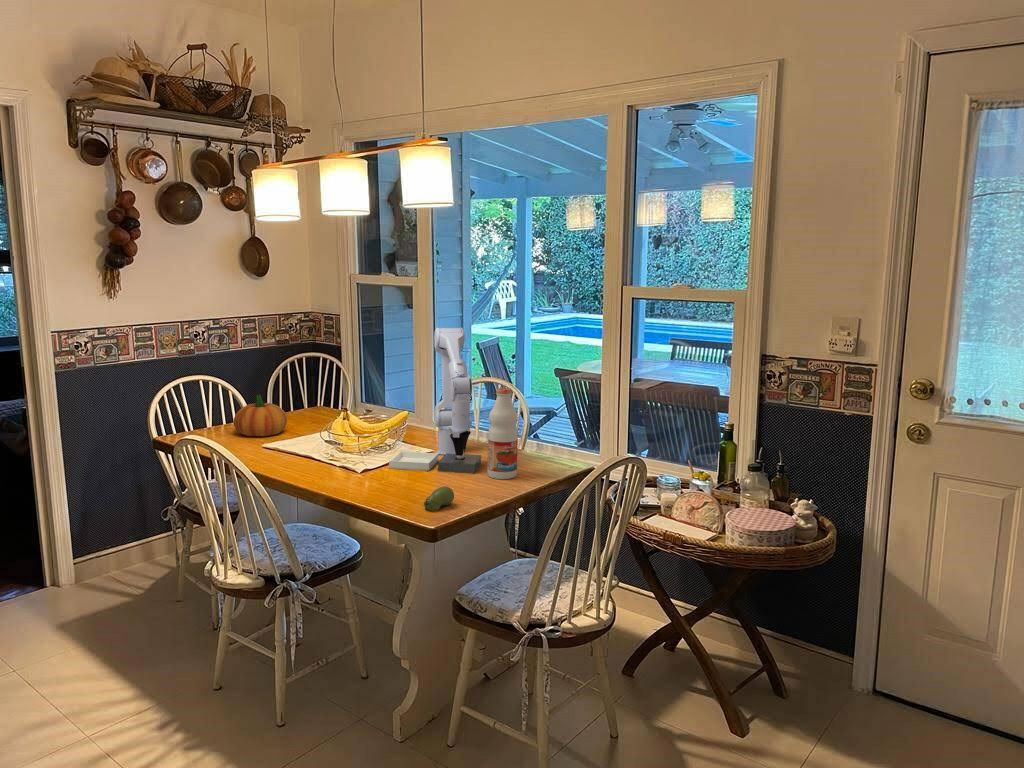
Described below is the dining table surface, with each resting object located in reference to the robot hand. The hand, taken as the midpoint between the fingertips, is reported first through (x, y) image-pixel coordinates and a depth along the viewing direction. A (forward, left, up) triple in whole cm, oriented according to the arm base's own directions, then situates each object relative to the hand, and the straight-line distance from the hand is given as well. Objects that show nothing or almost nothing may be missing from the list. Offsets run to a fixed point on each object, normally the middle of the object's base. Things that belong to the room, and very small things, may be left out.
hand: (460, 454), depth 256 cm
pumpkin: (-30, -84, -5) cm, 90 cm away
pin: (0, 0, -4) cm, 4 cm away
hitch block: (0, 0, -4) cm, 4 cm away
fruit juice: (+7, +15, -5) cm, 17 cm away
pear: (+41, +3, -5) cm, 42 cm away
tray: (0, -15, -4) cm, 16 cm away
